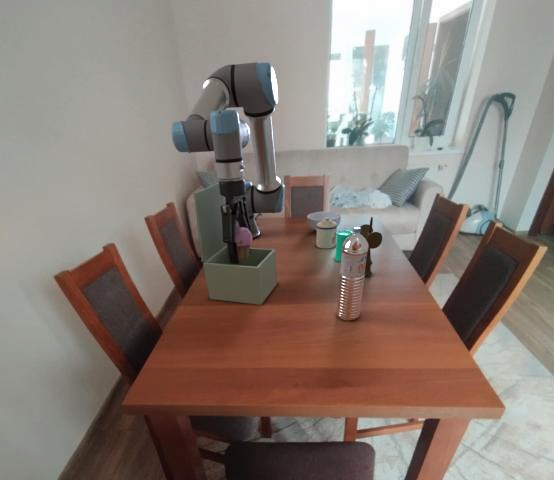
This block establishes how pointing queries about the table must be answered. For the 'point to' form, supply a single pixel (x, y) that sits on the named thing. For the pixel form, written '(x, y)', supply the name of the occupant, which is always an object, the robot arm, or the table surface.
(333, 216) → the cereal bowl
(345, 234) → the candle
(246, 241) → the cupcake
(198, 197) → the green box lid
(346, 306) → the water bottle
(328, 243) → the teacup with lid
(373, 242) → the kendama
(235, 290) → the chest
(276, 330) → the table surface
